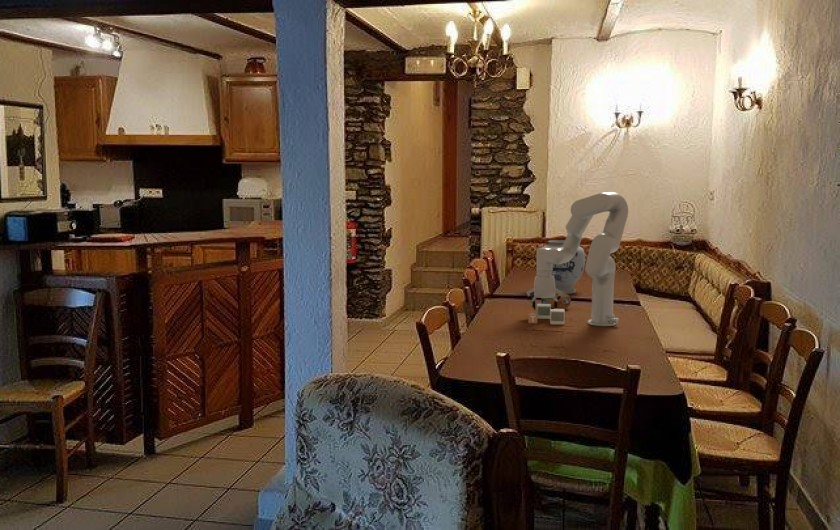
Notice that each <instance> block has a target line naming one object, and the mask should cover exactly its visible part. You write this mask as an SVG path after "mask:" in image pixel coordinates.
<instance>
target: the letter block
mask: <svg viewBox="0 0 840 530" xmlns="http://www.w3.org/2000/svg"><path fill="white" fill-rule="evenodd" d="M528 324H538V319H537V312H529V313H528Z"/></svg>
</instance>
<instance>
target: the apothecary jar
mask: <svg viewBox="0 0 840 530" xmlns="http://www.w3.org/2000/svg"><path fill="white" fill-rule="evenodd" d="M565 240H566V239H564V240H561V239H560V240H556V239H555V240H553V239H552V240H548V241H547V242H548V244H546V245H544V246H541V248H551V249H556V248H561V247H562V245H563V243H564V242H565ZM585 265H586V255H585V250H584V248H583V247H581V246H580V245H579V247H578V249H577V251H576V253H575V255H574V256H573V258H572V259H571V260H570V261H569V262H566V263H562V264H558V265H556V264H553V271H556V274H553V276H554V278H555V288H556V289H558V290H560V291H562V292H563V293H566V294H568V295H572V294H576V292H577V290H576V289H575V288H574V287H575V285H576V283H578V282H579V280H580V278H582V275H583V274H584V271H585ZM556 293H558V292H556Z"/></svg>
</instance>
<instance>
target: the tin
mask: <svg viewBox="0 0 840 530" xmlns="http://www.w3.org/2000/svg"><path fill="white" fill-rule="evenodd" d="M559 294H560V293H556V294H555V296H556V298H557V297H558V296H559ZM554 301H555V300H554V299H553V298H541V304H551V308H554ZM571 303H572V298H571V297H570V294H566V293H563V295H562V296H561V298H560V299H559V300H558V301H557V308H556V309H564V310H566V309H568V308H569V307H570V306H571Z"/></svg>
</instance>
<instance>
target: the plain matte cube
mask: <svg viewBox="0 0 840 530" xmlns="http://www.w3.org/2000/svg"><path fill="white" fill-rule="evenodd" d="M550 309H551V304H542V303H537V304H536V313H537V320H538V319H539V320H540V319H542V320H543V319H545V320H547V319H548V320H550Z"/></svg>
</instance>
